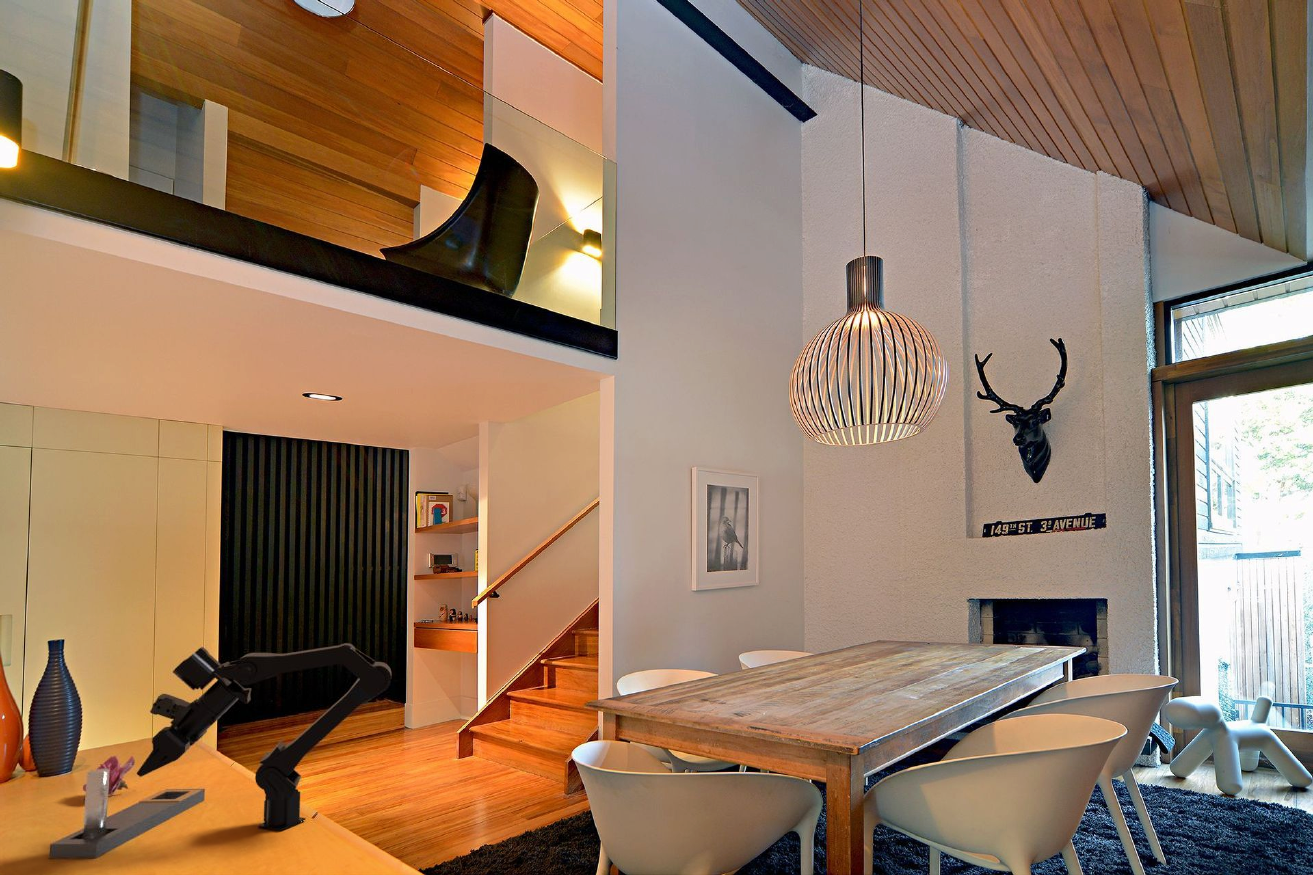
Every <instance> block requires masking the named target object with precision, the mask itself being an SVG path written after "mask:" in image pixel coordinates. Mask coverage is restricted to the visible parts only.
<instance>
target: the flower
mask: <svg viewBox="0 0 1313 875" xmlns="http://www.w3.org/2000/svg"><path fill="white" fill-rule="evenodd" d="M135 761H136V760H135V758H134V756H130V758H129V759H128V760H127V761H126V762H125V763H124V764H123V765H121V762H120V761H119V759H118V756H117V755H114V756H110V757H109V758H107V760H106V761H104V762H103V763H100V766H99V767H97V768H95V770H97V769H110V772H109V789H108V796H110V797H113V795H114V794H115V793H116V791H118V790H119V791H122V790H123V788H124V789H126V790H127V789H128V790H129V787H128V784H127V783H126V781H125V780H124V777H125V776H126V774H127V773H129V771H130V770H132V769H133V767H134V765H135ZM82 790H83V791H84V792H85V793H86V784H85V783H84V785H82ZM131 791H133V792H135V790H133V789H131ZM83 801H85V798H84V799H83Z"/></svg>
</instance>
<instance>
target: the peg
mask: <svg viewBox="0 0 1313 875" xmlns="http://www.w3.org/2000/svg"><path fill="white" fill-rule="evenodd" d="M96 769H97V768H96ZM96 769H93V770H89V771H87V772H86V781H85V782H86V792H85V797H84V799H85V800H84V817H83V828H84V829H83V828H82V829H83V839H99V838H101V837H103V836H105V835H106V822H107V817H108V802H109V795H108V789H109V772H110V769H97V770H96Z"/></svg>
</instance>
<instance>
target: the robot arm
mask: <svg viewBox="0 0 1313 875" xmlns="http://www.w3.org/2000/svg"><path fill="white" fill-rule="evenodd" d="M336 665H342V666H343V667H345V668H346V669H347V670H348V671H349V672H351V673H352V674H353V675H354V676H355V678H357V679H356V681H355V682H354V683H353V685H352V686H351V687H350V689H349V690H348V691H347V692H346V693H345V694H344V695H343V696H342V697H341V698H340V699H339V700H337V701H336V702H335V703H334V704H333V705H331V706H330V708H329V709H327V710H326V711H325V712H324V713H323V714H321V716H320V717H318V718H317V719H316V720H315V721H314V722H313V723H312V724H311V725H310V726H308V727H307V728H306V729H305V730H304V731H303V732H302V733H301V734H299V736H297V737H296V738H295V739H294V740H292V741H291V742H289V743H287V744H284V742H283V741H282V740H280V741H279V742H278V743H277V744H276V746H275V747H274V748H273V749H272V750H270V751H268V752H266V753H265V754H264V756H263V757H262V759H261V760H260V762H259V767H258V768H257V770H256V772H255V777H254V778H255V784H256V785H257V786H258V788H259V789H261V790H263V791H264V794H265V800H264V802H263V803H264V804H263V822H261V823H258V825H257V828H259V829H267V830H271V829H274V830H273V831H278V830H279V831H280V830H281V831H284V830H286V828H287V829H289V828H291V827H293V826H292V825H294V826H296V825H298V824H300V823H299V822H301V821H303V820H305V821H306V817H301V816H300V815H301V814H300V812H301V811H300V810H301V791H299V790H298V789H297V787H298V785H299V784H300V783H299V782H300V781H301V778H302V775H301V773H299V772H298V771H296V767H298V765H299V764H300V763H301V761H302V760H303V758H304V757H305V756H306V755H307V754H308V753H309V752H311V751H312V750H313V748H315V747H316V746H317V745H318V744H319V743H321V741H322V740H324V739H325V738H326V737H327V736H328V735H329V734H330V733H331V732H332V731H333V730H334V729H335V728H337V727H338V725H340V724H341V723H342V722H343V721H344V720H346V719H347V718H348V717H349V716H351V714H352V713H354V711H355V710H356V709H358V708H359V707H360V706H362V705H364V704H366V703H368V702H369V701H371V700H372V699H375V698H376V697H377V696H379V695H380V694H381V693H383V692H384V691H386V690H387V689H388V688H389V687H390V685H391V683H392V682H391V680H392V670H391V667H390V666H389V665H388V664H387V663H386V662H382V661H375V660H374V659H373V658H371V657H370V656H368V655H366V654H365V653H363V652H362V651H360V650H359V649H357V648H356V647H355V646H354V645H353V644H352V643H350V642H349V643H346V642H345V643H342V644H340V645H339V644H338V645H332V646H328V647H320V648H314V649H307V650H301V651H296V652H295V651H294V652H287V653H272V652H249V653H247V654H245V655H244V656H241V657H240V658H239V659H237V660H234V661H233V660H232V661H227V662H224V663H221V662H219V661H218V660H217V659H216V658H215V657H213V656H212V655H211V654H210V652H209V651H208V650H207V649H206V648H205V647H204V646H201V647H199V648H198V649H197V650H196V651H195V652H193V653H192V654H191V655H190V656H188V658H185V659H184V660H183V661H181V662H180V663H179V664H178V665H177V666H176V667H175V669H173V670H172V673H173V674H174V675H175V676H176V677H177V678H179V680H181V681H182V682H183V683H184V684H185V685H186V686H188V687H189V688H190V689H191V690H192V691H195V690H197V691H198V690H199V689H200V690H201V691H203V690H204V689H205V688H207V687H208V686H209V685H210V684H211V683H212V682H213V681H214V680H215V679H216V681H215V682H214V683H213V684H212V685H211V686H209V688H208V689H207V690H205V692H204V693H202V695H200V696H199V697H198V698H196V699H194V700H193V701H191V702H189V701H186V700H184V699H182V698H179V697H176V696H174V695H171V694H168V693H162V694H159V696H157V698H156V700H155V701H154V703H152V706H151V709H150V711H149V713H150V714H153V715H156V716H157V715H159V716H160V717H161V716H162V717H164V718H166V719H170V720H171V721H170V724H171V725H170V726H165V727H163V728H161V729H160V730H159V731H158V732H157V733H156V734H155V735H154V736H153V737H152V738H151V739H152V740H151V744H152V750H151V752H150V753H149V755H148V756H147V758H146V760H145V761H144V762H143V763H142V765H141V766H140V768H139V769H138V771H136V775H137V776H138V777H139V778H141V777H143V776H146V775H148V774H150V773H152V772H154V771H156V770H158V769H160V768H162V767H164V766H167V765H169V764H171V763H174V762H176V761H178V760H179V759H180V758H181V757H182V756H183V755H184V754H185V753H186V752H187V751H188V750H189V749H190V747H191V746H194V744H196V743H197V742H198V741H199V740H200V739H202V738H203V736H205V734H207V732H208V729H210V728H211V726H213V725H214V724H215V723H216V722H217V721H218V720H219V719H220V718H221V717H222V715H224V714H225V713H226V712H227V711H228V710H229V709H230V708H231V707H232V706H233V705H234V704H235V703H236V702H237V701H238V700H240V701H241V702H242V703H243V704H245V705H246V704H248V703H249V702H250V701H251V699H252V698H251V692H252V688H251V687H248V688H245V687H243V686H249V685H253V684H256V683H259V682H263V681H265V680H268V679H270V678H273V677H276V676H278V675H281V674H286V673H292V672H293V673H294V672H298V671H304V670H311V669H316V668H317V669H319V668H323V667H331V666H336ZM231 679H232V680H233V681H230V680H231ZM303 822H304V821H303ZM297 823H298V824H297ZM301 823H302V822H301ZM290 826H291V827H290ZM288 827H289V828H288ZM275 829H276V830H275ZM283 829H284V830H283ZM279 831H278V832H279ZM281 831H280V832H281Z"/></svg>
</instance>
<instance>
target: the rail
mask: <svg viewBox="0 0 1313 875" xmlns="http://www.w3.org/2000/svg"><path fill="white" fill-rule="evenodd" d="M205 790H206V789H205V788H166V789H163V790H159V791H157V792H155V793H152V794H151V795H149V796H146V797H145V798H143V799H140V800H139V801H138V802H136V803H134V804H132V805H130V806H128V807H126V808H123V809H122V810H119V811H117V812H116V813H113V814H111V815H108V816H107V822H106V835H105V836H103V837H101V838H99V839H83V829H84V827H83V828H81V829H79V830H78V831H75V832H73V833H70V834H69V835H67V836H65V837H62V838H61V839H58V840H56V841H54V842H52V843H50V844H49V854H48V858H54V859H97V858H100V857H101V856H103V855H104V854H106V853H108V852H111V851H113V850H114V849H116V848H117V847H120V846H122V845H124V844H126V843H127V842H129V841H130V840H133V839H135V838H136V837H139V836H140V835H142V834H143V833H144V834H145V832H148V831H149V830H151V829H153V828H156V827H157V826H158V825H161V824H163V823H165V822H166V821H168V820H170V819H172V818H174V817H175V816H178V815H179V814H182V813H183V812H185V811H187V810H189V809H190V808H193V807H195V806H196V805H198V804H200V803H201V802H202V803H203V802H204V801H205V796H206V795H205V793H206V792H205Z"/></svg>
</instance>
